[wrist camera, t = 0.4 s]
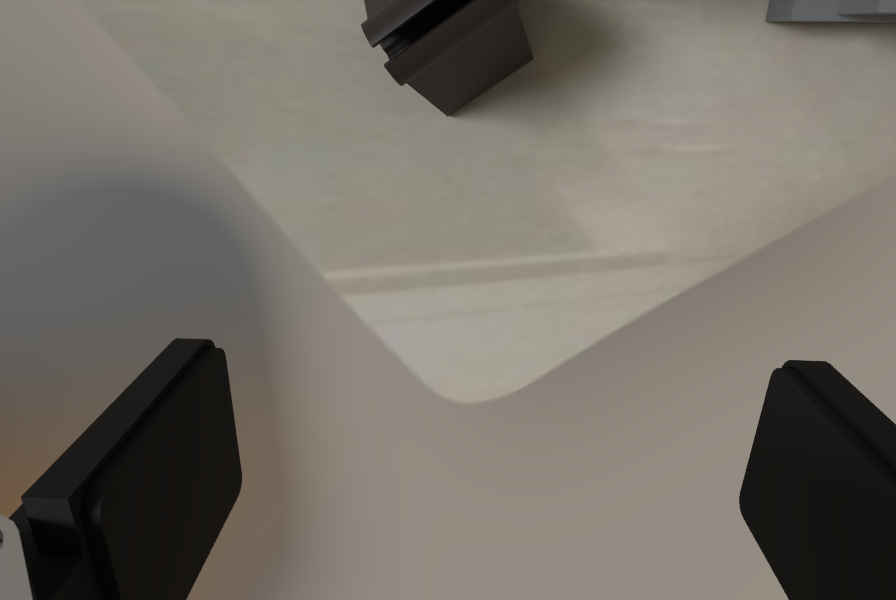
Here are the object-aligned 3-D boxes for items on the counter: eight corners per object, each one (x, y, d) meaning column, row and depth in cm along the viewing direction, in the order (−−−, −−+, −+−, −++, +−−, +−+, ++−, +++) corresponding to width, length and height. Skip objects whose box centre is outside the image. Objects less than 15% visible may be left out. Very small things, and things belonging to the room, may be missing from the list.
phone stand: (532, 59, 36) (559, 70, 25) (447, 116, 38) (437, 150, 27) (450, -91, 34) (438, -152, 23) (361, -23, 35) (309, -49, 24)
